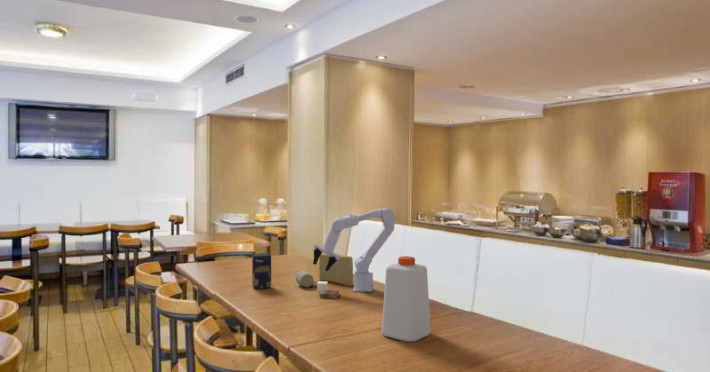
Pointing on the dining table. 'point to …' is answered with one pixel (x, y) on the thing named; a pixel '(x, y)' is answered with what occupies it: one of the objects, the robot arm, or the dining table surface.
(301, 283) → the ceramic mug
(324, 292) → the walnut base
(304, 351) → the dining table surface
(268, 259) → the canister
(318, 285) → the cream cube
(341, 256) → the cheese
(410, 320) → the plastic bottle
